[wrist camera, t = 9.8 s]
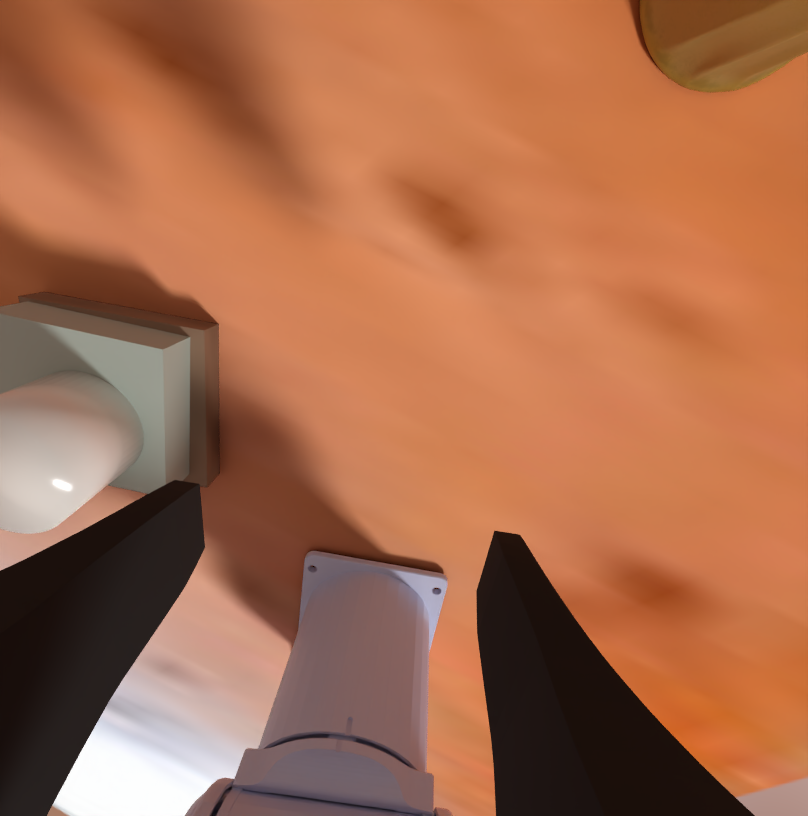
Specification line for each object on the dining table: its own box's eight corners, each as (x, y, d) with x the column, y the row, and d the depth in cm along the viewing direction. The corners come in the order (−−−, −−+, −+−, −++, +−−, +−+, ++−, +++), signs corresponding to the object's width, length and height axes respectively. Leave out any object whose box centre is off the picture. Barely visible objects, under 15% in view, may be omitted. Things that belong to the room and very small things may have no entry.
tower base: (225, 466, 23) (207, 487, 22) (79, 439, 23) (48, 458, 22) (225, 320, 20) (204, 330, 18) (56, 289, 20) (18, 296, 18)
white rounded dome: (146, 483, 19) (79, 545, 16) (39, 461, 19) (-54, 518, 16) (141, 383, 17) (62, 427, 14) (21, 359, 17) (-91, 397, 14)
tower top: (189, 474, 21) (165, 497, 19) (48, 443, 21) (11, 464, 19) (190, 337, 19) (162, 349, 17) (27, 301, 18) (-18, 310, 17)
